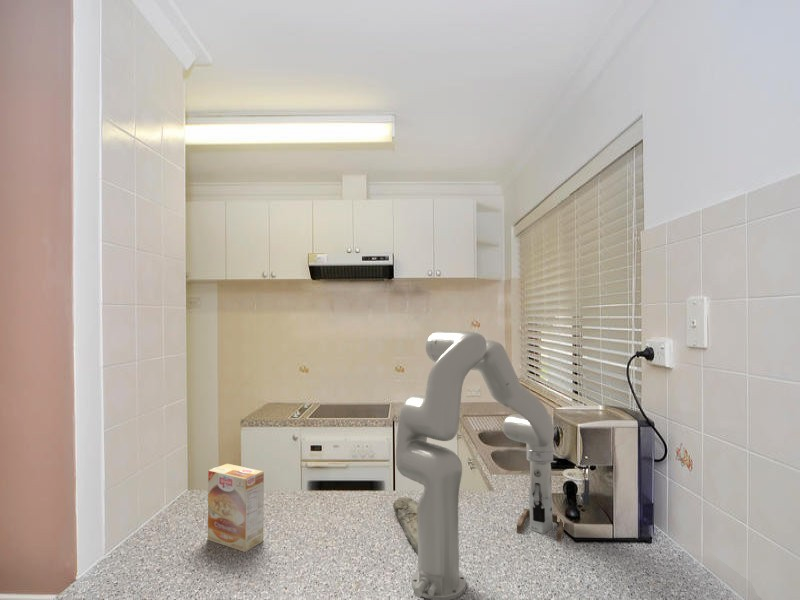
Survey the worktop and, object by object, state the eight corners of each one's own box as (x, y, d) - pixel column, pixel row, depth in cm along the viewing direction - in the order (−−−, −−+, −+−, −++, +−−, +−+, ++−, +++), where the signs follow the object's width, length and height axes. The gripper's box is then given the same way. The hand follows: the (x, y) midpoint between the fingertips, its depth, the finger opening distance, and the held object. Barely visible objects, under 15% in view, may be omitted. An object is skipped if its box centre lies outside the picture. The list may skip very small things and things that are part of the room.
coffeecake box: (206, 540, 124) (207, 469, 125) (227, 529, 130) (227, 462, 131) (244, 553, 117) (245, 478, 118) (264, 541, 123) (264, 470, 124)
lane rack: (560, 541, 122) (560, 534, 122) (516, 532, 127) (516, 525, 127) (565, 522, 133) (565, 515, 133) (524, 515, 138) (524, 508, 139)
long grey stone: (414, 570, 112) (451, 566, 114) (415, 549, 112) (452, 546, 114) (387, 505, 146) (416, 504, 148) (388, 489, 146) (417, 488, 148)
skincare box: (543, 534, 126) (542, 491, 126) (529, 529, 129) (528, 487, 129) (553, 527, 130) (552, 485, 131) (539, 522, 133) (538, 481, 134)
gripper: (549, 465, 121) (550, 531, 120) (556, 448, 137) (557, 506, 136) (521, 461, 124) (522, 526, 123) (531, 445, 140) (532, 502, 139)
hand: (541, 515), depth 130 cm, fingers closed on skincare box, 6 cm apart
